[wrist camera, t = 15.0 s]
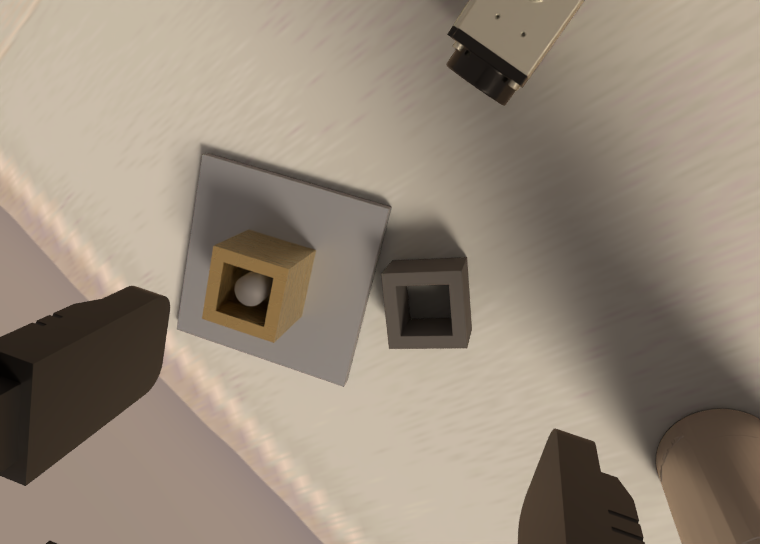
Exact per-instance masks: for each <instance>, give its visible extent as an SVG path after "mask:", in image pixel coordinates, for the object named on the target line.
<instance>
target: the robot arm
mask: <svg viewBox="0 0 760 544" xmlns="http://www.w3.org/2000/svg"><path fill="white" fill-rule="evenodd" d="M169 314H170V302H169V299H168V298H167V297H166V296H163V295H160V294H157V293H154V292H151V291H148V290H145V289H142V288H139V287H136V286H129V287H126V288H124V289H122V290H120V291H118V292H116V293H114V294H111V295H109V296H107V297H105V298H103V299H98V300H93V301H88V302H82V303H77V304H73V305H71V306H69V307H66V308H64V309H62V310H60V311H57V312H55V313H54V314H53V316H51V315H49V316H46V317H44V318H42V319H39V320H37V322H36V323H30V324H28V325H26V326H24V327H22V328H19V329H17V330H15V331H13V332H10V333H8V334H6V335H4V336H2V337H0V476H2V477H5V478H7V479H10V480H12V481H15V482H17V483H19V484H22V485H24V486H26V485H28V484H29V483H30V482H31V481H33V480H34V479H35V478H37V477H38V476H39V475H41V474H42V473H43V472H45V470H47V469H48V468H50V467H51V466H52V465H54V464H55V463H56V462H58V461H59V460H60V459H62V458H63V457H64V456H65V455H67V454H68V453H69V452H71V451H72V450H73V449H75V448H76V447H77V446H78V445H80V444H81V443H82V442H84V441H85V440H86V439H87V438H89V437H90V436H92V435H93V434H94V433H95V432H97V431H98V430H99V429H101V428H102V427H103V426H105V425H106V424H107V423H108V422H110V421H111V420H112V419H114V418H115V417H116V416H118V415H119V414H120V413H122V412H123V411H124V410H125V409H127V408H128V407H129V406H131V405H132V404H133V403H135V402H136V401H137V400H138V399H139V398H141V397H142V396H144V395H145V394H146V393H147V392H149V390H150V389H151V388H152V387H153V385H154V384H155V382H156V380H157V378H158V376H159V374H160V371H161V368H162V363H163V356H164V349H165V342H166V335H167V328H168V321H169ZM656 466H657V471H658V476H659V478H660V481H661V484H662V487H663V490H664V493H665V496H666V499H667V502H668V505H669V508H670V511H671V514H672V517H673V520H674V523H675V525H676V528H677V531H678V534H679V537H680V540H681V543H682V544H760V419H759V418H757V417H755V416H753V415H751V414H748V413H745V412H742V411H737V410H730V409H710V410H705V411H701V412H697V413H694V414H692V415H689V416H687V417H685V418H683V419H682V420H680V421H679V422H677V423H676V424H674V425H673V426H672V427H671V428H670V429H669V430H668V431H667V432H666V434H665V435H664V437H663V438H662V440H661V442H660V444H659V447H658V450H657V455H656ZM638 521H639V519H638V515H637V511H636V507H635V503H634V500H633V498H632V497H631V495H630V494H629V493H628V491H627V490H626V489H625V487H624V486H623V485H622V483H621V482H620V481H619V479H618V478H617V477H614V476H611V475H608V474H605V473H602V472H601V470H600V465H599V460H598V455H597V449H596V445H595V442H594V441H591V440H588V439H585V438H582V437H579V436H576V435H573V434H570V433H567V432H564V431H561V430H558V429H553V430H552V432H551V434H550V436H549V438H548V440H547V443H546V445H545V448H544V450H543V453H542V455H541V458H540V461H539V463H538V466H537V468H536V471H535V473H534V476H533V479H532V481H531V484H530V486H529V489H528V491H527V494H526V497H525V500H524V503H523V507H522V510H521V515H520V520H519V528H518V544H645V542H643V534H642V530H641V526H640V524H638ZM46 544H57V543H54V542H52V541H49V542H47V543H46Z"/></svg>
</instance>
